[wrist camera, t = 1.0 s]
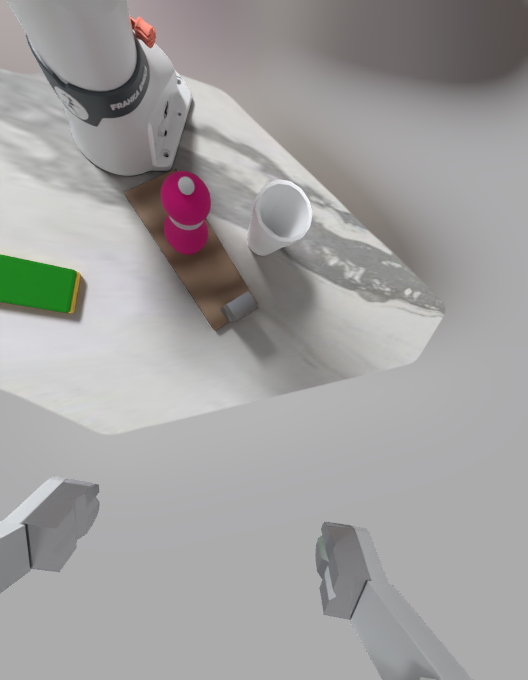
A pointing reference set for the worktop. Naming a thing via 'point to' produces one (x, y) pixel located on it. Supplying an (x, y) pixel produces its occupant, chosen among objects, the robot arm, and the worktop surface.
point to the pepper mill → (185, 211)
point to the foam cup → (278, 217)
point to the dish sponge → (38, 285)
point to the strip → (196, 261)
